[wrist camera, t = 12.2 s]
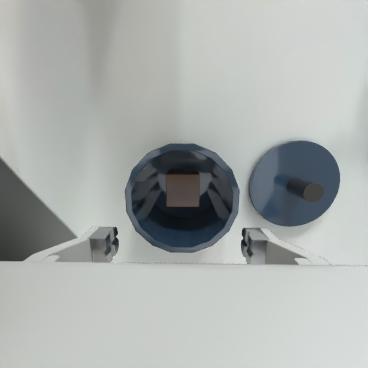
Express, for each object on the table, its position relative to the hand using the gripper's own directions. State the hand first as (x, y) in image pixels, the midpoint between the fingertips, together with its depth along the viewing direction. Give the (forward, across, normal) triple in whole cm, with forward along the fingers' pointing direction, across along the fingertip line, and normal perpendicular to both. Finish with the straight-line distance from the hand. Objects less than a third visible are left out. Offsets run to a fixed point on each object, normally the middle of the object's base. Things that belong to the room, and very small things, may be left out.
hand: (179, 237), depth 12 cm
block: (+17, 0, 0) cm, 17 cm away
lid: (+17, -17, 0) cm, 24 cm away
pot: (+18, 0, 0) cm, 18 cm away
